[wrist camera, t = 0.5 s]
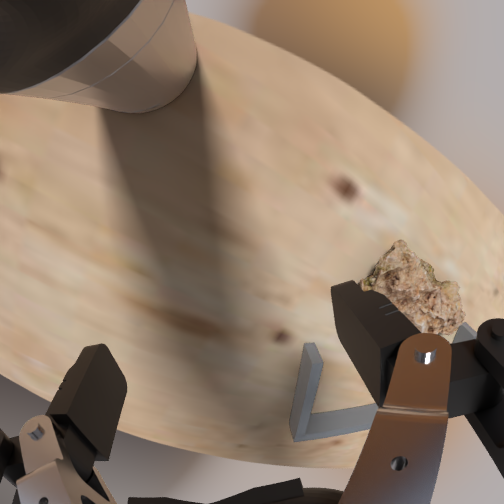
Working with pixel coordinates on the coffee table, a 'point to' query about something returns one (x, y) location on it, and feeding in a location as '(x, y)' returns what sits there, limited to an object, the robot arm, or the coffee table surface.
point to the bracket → (339, 420)
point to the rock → (416, 291)
